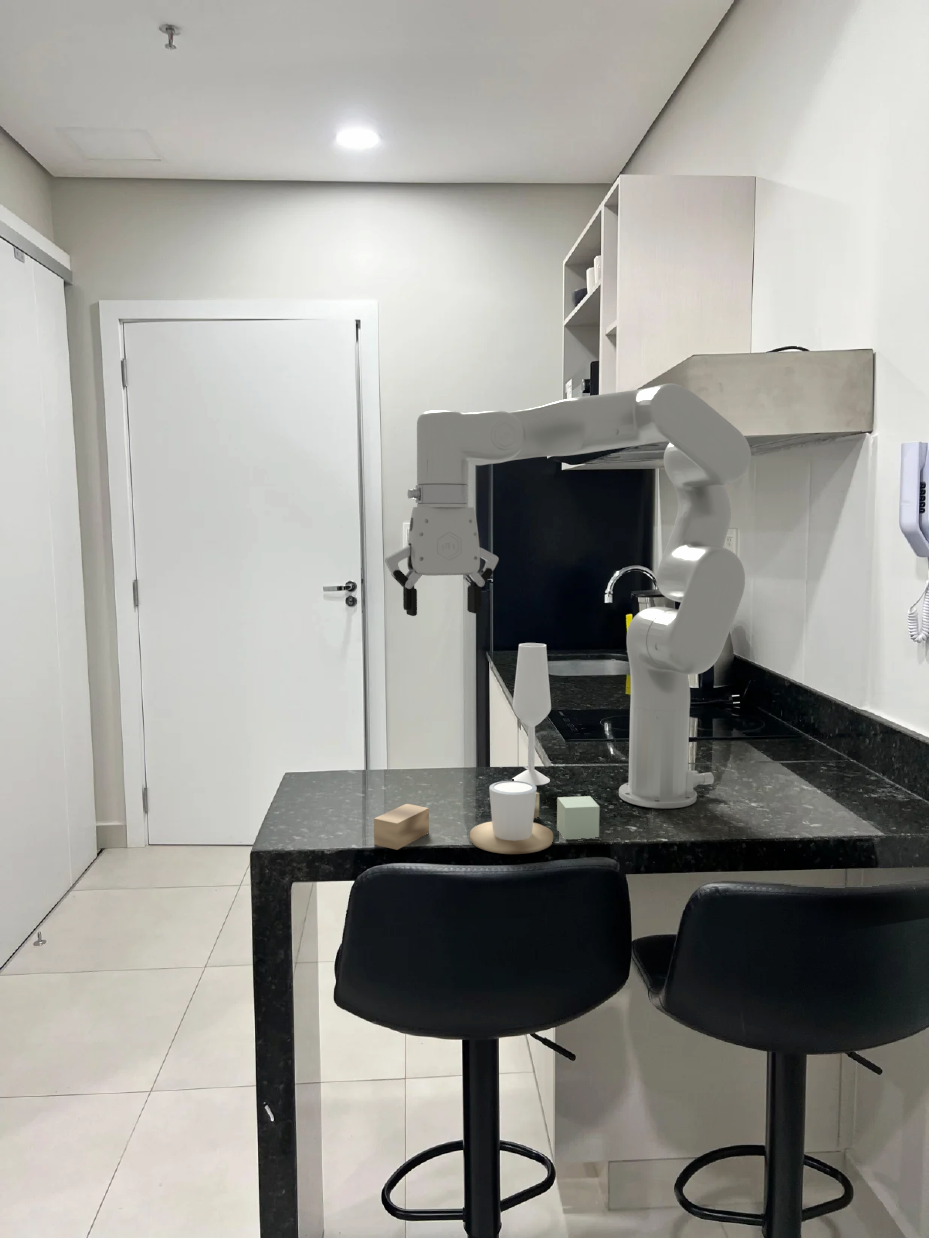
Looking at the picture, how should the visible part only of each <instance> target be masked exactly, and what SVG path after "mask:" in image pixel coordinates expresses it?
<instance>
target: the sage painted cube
mask: <svg viewBox="0 0 929 1238" xmlns="http://www.w3.org/2000/svg"><path fill="white" fill-rule="evenodd" d="M556 802H557V803H556V805H557V807H556V808H557V809H556V830H557V832H558V831H559V832H560V833H561V835H562V836H563V837H564V839H581V838H595V837H599V838H600V805H599V804H598V803H597V802H596V801H595V800H594V799H593V797H591V795H587V796H586V795H584V796H563V797H561V796H560V797H559V796H558V797H557V799H556ZM559 832H558V833H559ZM560 833H559V834H560ZM561 835H560V836H561ZM562 836H561V837H562ZM563 837H562V838H563ZM564 839H563V840H564Z"/></svg>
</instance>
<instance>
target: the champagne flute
mask: <svg viewBox="0 0 929 1238" xmlns="http://www.w3.org/2000/svg"><path fill="white" fill-rule="evenodd" d="M517 650H518V651H517V660H516V661H517V662H516V668H515V669H516V670H515V679H514V680H515V681H514V690H513V691H514V692H513V699H512V700H513V701H512V710H513V712H514V714H515V715H516V716H517V717H516V718H518V719H519V720H520V721H521V722H522V723H523V724H524V725H526V726H527V731H528V733H527V741H528V742H527V744H528V745H527V769H526V770H524V771H522V772H521V773H519V774H517V775H516V776H514V777H512V779H514V781H522V782H528V783H531V784H534V785H535V786H543V785H547V784H548V783H550V781H551V780H550V778H549V777H547V776H545V775H544V774H543V773H541V772H539V771H538V770H536V769H535V763H536V762H535V761H536V760H535V758H536V757H535V755H536V754H535V753H536V752H535V751H536V747H535V746H536V745H535V743H536V742H535V741H536V726H538V725H539V724H541V722H543V721H544V719H546V718H547V717H548V715H549V714H550V712H551V710H552V702H551V691H550V678H549V667H548V666H549V665H548V654H547V653H548V652H547V651H548V650H547V644H545V643H536V642H525V643H519V644H518V649H517Z"/></svg>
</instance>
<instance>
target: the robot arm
mask: <svg viewBox="0 0 929 1238" xmlns="http://www.w3.org/2000/svg"><path fill="white" fill-rule="evenodd" d="M663 442H668V444H667V446H666V447H665V450H664V453H663V466H664V469H665V470H664V471H665V474H666V475H667V477H668V478H669V480H670V482H671V483H672V487H673V488H674V491H675V493H676V497H677V504H678V505H677V506H678V508H677V514H676V517H675V520H674V525H673V527H672V530H671V533H670V536H669V538H668V540H667V541H668V542H667V543H666V547H665V548H664V552H663V554H662V556H661V559H660V562H659V564H658V568H657V572H656V578H655V579H656V587H657V589H658V591H659V592H660V593H661V594H662V596H664V597H665V598H667V599H669V600H671V601H673V602H678V603H680V605H679V607H678V609H677V608H674V607H673V608H671V607H667V606H666V607H665V606H652V607H651V606H650V607H648V608H644V609H643V610H640V611H639V612H638V613H636V615H634V616H633V618H632V620H631V621H630V622H629V625H628V628H627V632H626V651H627V658H628V663H629V673H630V674H629V675H630V704H629V706H630V708H629V746H628V747H629V749H628V751H629V752H628V782H625V783H624V784H622V785H620V787H619V788H618V796H619V798H620V799H621V800H623V801H624V802H626V803H628V804H631V805H634V806H635V805H636V806H639V807H642V808H644V807H645V808H651V809H679V808H684V807H688V806H691V805H693V804H694V803H696V802H697V797H698V796H697V795H698V794H697V792H696V790H695V789H694V788H697V786H698V785H701V786H703V785H705V786H706V785H711V784H714V782H715V777H714V775H713V773H712V772H711V771H710V772H702V773H701V772H700V773H699V772H698V770H690V769H689V743H690V742H689V737H690V735H689V734H690V733H689V732H690V707H691V687H690V681H689V680H690V679H689V676H690V675H692V676H693V675H700V674H703V673H704V672H707V671H708V670H709V669H711V667H713V666H714V665H715V664H716V662H717V661H718V659H719V657H720V656H721V654H722V651H723V649H724V647H725V644H726V642H727V639H728V636H729V634H730V632H731V628H732V626H733V623H734V620H735V617H736V615H737V613H738V609H739V607H740V604H741V602H742V598H743V596H744V591H745V584H746V574H745V568H744V565H743V562H742V561H741V559H740V558H739V557H738V555H737V554H736V553H734V552H733V551H732V550H730V549H728V548H725V547H724V546H725V543H726V542H725V541H726V538H727V535H728V532H729V529H730V525H731V518H732V509H731V508H732V507H731V504H730V498H729V496H728V493H727V491H726V489H725V486H726V485H730V484H732V483H736V482H737V481H738V480H740V479H741V478H743V477H744V476H745V474H746V473H747V472H748V471H749V468H750V465H751V461H752V460H751V459H752V451H751V448H750V444H749V442H748V440H747V438H746V437H745V436H744V434H743V433H742V432H741V431H740V430H739V429H738V428H737V427H735V426H734V424H733V423H731V422H730V421H728V420H727V419H726V418H725V417H724V416H722V415H721V413H719V412H718V411H716V410H715V409H714V408H713V407H712V406H711V405H709V404H708V403H707V402H706V401H705V400H703V399H702V398H701V397H700V396H698V394H695V393H694V392H693V391H691V390H690V389H688V388H686V387H685V386H683V385H680V384H677V383H673V382H672V383H664V384H659V385H655V386H651V387H645V388H641V389H640V388H639V389H633V390H626V391H618V392H611V393H605V394H604V393H603V394H597V395H596V394H595V395H587V396H576V397H571V398H567V399H562V400H558V401H555V402H551V403H547V404H545V405H542V406H537V407H533V408H527V409H523V410H521V409H520V410H515V411H509V412H508V411H505V410H504V411H503V410H488V411H480V412H479V411H477V412H465V413H464V412H460V411H457V410H456V411H454V410H429V411H424V412H422V413H421V414H420V415H418V418H417V421H416V485H415V487H414V488H412V489H408V490H407V498H408V499H412V500H415V503H416V506H413V507H412V511H411V515H410V521H409V529H408V539H407V546H405V547H403V548H401V549H399V550H398V551H396V552H394V553H392V554H391V555H389V556H387V557H385V560H384V563H385V565H386V566H387V568H388V571H389V572H390V573H391V577H392V578H393V579H394V580H396V582H397V583H399V585H400V586H401V587H402V589H403V591H402V598H403V601H402V602H403V605H402V607H403V610H404V611H406V612H405V613H406V615H407V616H408V615H409V616H412V617H416V616H417V615H418V590H417V588H415V586H416V583H417V582H418V581H419V580H420V578H421V577H422V576H426V577H427V576H428V577H429V576H435V577H436V576H465V578H466V579H467V580H468V581H469V582H470V583H469V585H468V586H467V588H466V589H467V595H466V596H467V598H466V599H467V602H466V603H467V604H466V605H467V607H466V608H467V612H468V613H472V614H474V615H475V614H477V615H478V614H479V613H480V608H481V607H482V601H483V600H482V587H484V586H485V583H486V582H487V581H488V580H489V579H490V578H491V577H492V576H493V573H494V572H493V571H494V570H495V568H496V567H497V565H498V563H499V561H500V560H499V557H498V556H497V555H496V554H494V553H492V552H490V551H488V550H486V549H484V548H482V547H480V539H479V531H478V530H479V529H478V522H477V516H476V511H475V507H474V506H473V507H472V506H471V507H470V506H469V465H470V464H471V465H473V466H474V465H475V466H485V465H493V464H501V463H505V462H510V461H516V460H524V459H532V458H541V457H564V456H565V457H566V456H575V455H576V456H577V455H581V454H582V455H583V454H590V453H595V452H601V451H607V450H609V451H610V450H615V449H622V448H629V447H635V446H642V445H643V446H644V445H649V444H654V443H655V444H656V443H663ZM405 559H406V563H407V569H408V571H407V572H406V573H405V574H404V572H402V570H401V569H400V567H399V563H400V562H402V561H403V560H405ZM481 559H482V560H484V561H485V563H484V566H483V568H482V569H481V570H480V566H481ZM479 570H480V571H479Z"/></svg>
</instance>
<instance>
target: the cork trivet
mask: <svg viewBox="0 0 929 1238" xmlns="http://www.w3.org/2000/svg"><path fill="white" fill-rule="evenodd" d="M470 840H471V841H470ZM469 841H470V843H471V842H472V843H473V844H472V843H471V844H472V845H473V846H474V847H476V848H478V849H481V850H483V851H485V852H486V851H487V852H491V853H496V854H501V855H502V854H504V855H522V854H523V855H524V854H532V853H536V852H541V851H542V850H546V849H548V848H549V847H551V846H552V844H553V843H552V842H554V832H553V831H552V830H551V829H550V828H548V827H547V826H545V825H542V824H540V823H537V822H533V829H532V836H531V837H529V838H528V839H524V840H517V841H512V840H503V839H499V838H497V837H495V836H494V835H493V825H492V820H491V821H486V822H483V823H480V824H478V825H475V826H474V827H472V828H471V829H470V831H469Z"/></svg>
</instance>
